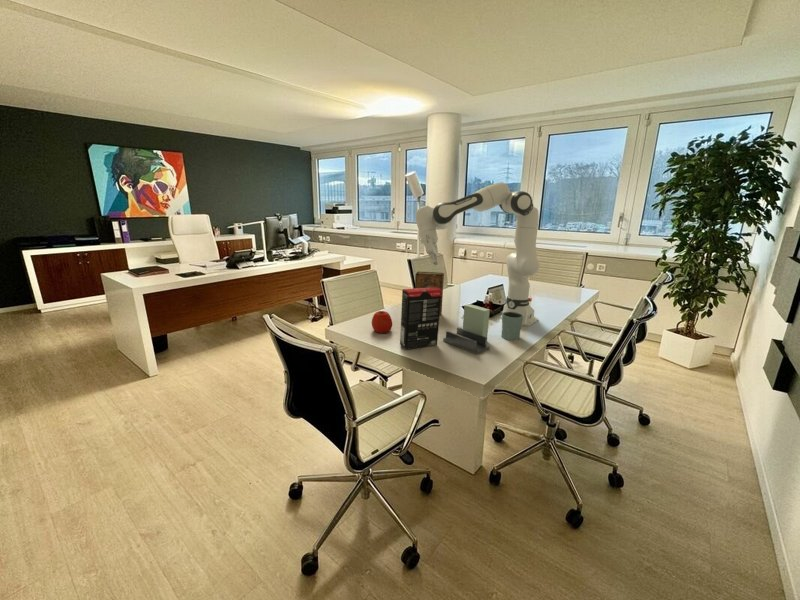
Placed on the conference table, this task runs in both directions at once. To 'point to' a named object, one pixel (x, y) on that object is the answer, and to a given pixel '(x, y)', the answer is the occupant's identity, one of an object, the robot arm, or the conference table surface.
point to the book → (430, 282)
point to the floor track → (467, 341)
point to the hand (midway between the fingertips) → (434, 263)
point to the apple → (382, 322)
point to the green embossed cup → (511, 325)
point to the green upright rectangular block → (476, 319)
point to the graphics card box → (420, 317)
